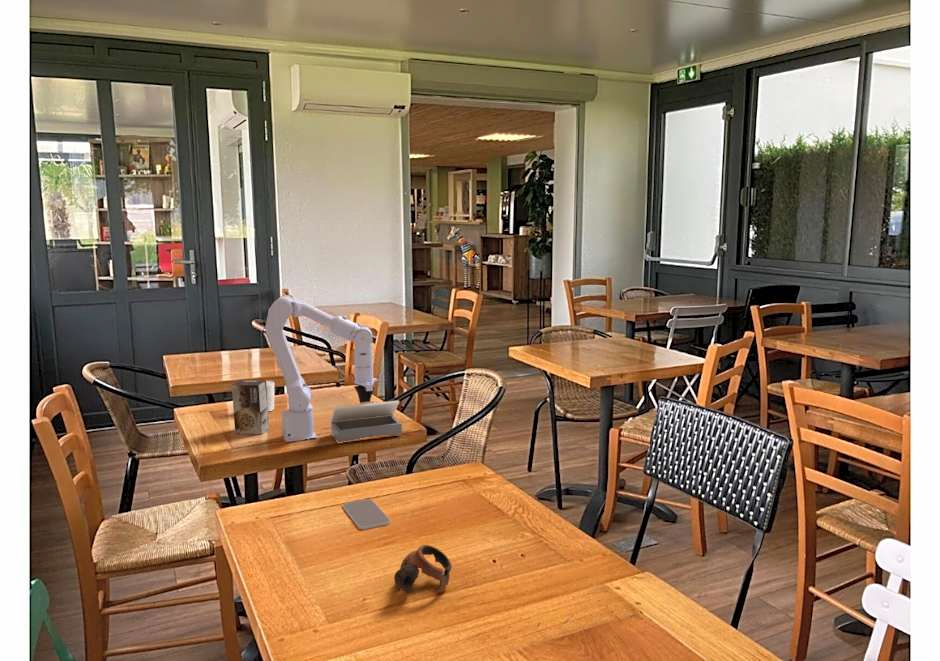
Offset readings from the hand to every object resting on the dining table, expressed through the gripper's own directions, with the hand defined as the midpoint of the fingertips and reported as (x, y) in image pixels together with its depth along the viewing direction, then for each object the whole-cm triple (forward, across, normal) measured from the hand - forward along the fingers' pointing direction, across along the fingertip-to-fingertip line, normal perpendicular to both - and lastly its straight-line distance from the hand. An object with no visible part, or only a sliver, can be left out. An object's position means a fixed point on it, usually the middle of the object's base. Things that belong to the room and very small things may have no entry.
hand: (365, 408), depth 221 cm
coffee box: (+9, +17, +33) cm, 38 cm away
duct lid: (+1, 0, 0) cm, 1 cm away
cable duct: (+8, -1, 0) cm, 8 cm away
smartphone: (+9, -59, +14) cm, 61 cm away
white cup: (+9, +40, +27) cm, 49 cm away
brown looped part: (+9, -94, +13) cm, 96 cm away
